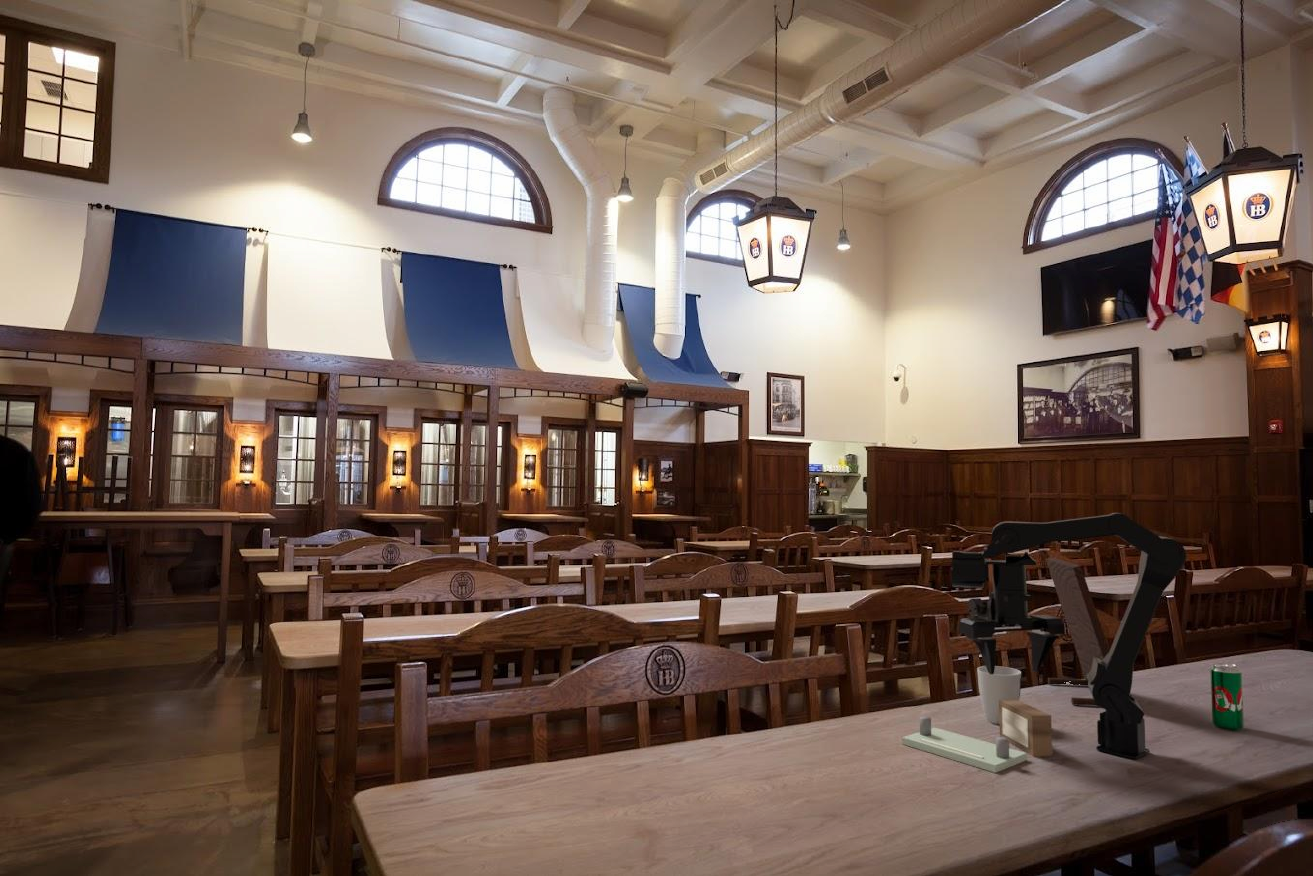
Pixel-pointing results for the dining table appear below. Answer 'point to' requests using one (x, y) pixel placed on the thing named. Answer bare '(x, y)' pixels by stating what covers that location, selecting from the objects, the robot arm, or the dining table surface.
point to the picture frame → (1078, 620)
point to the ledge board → (964, 748)
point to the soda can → (1227, 696)
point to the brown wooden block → (1026, 727)
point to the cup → (997, 689)
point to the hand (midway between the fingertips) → (1013, 672)
